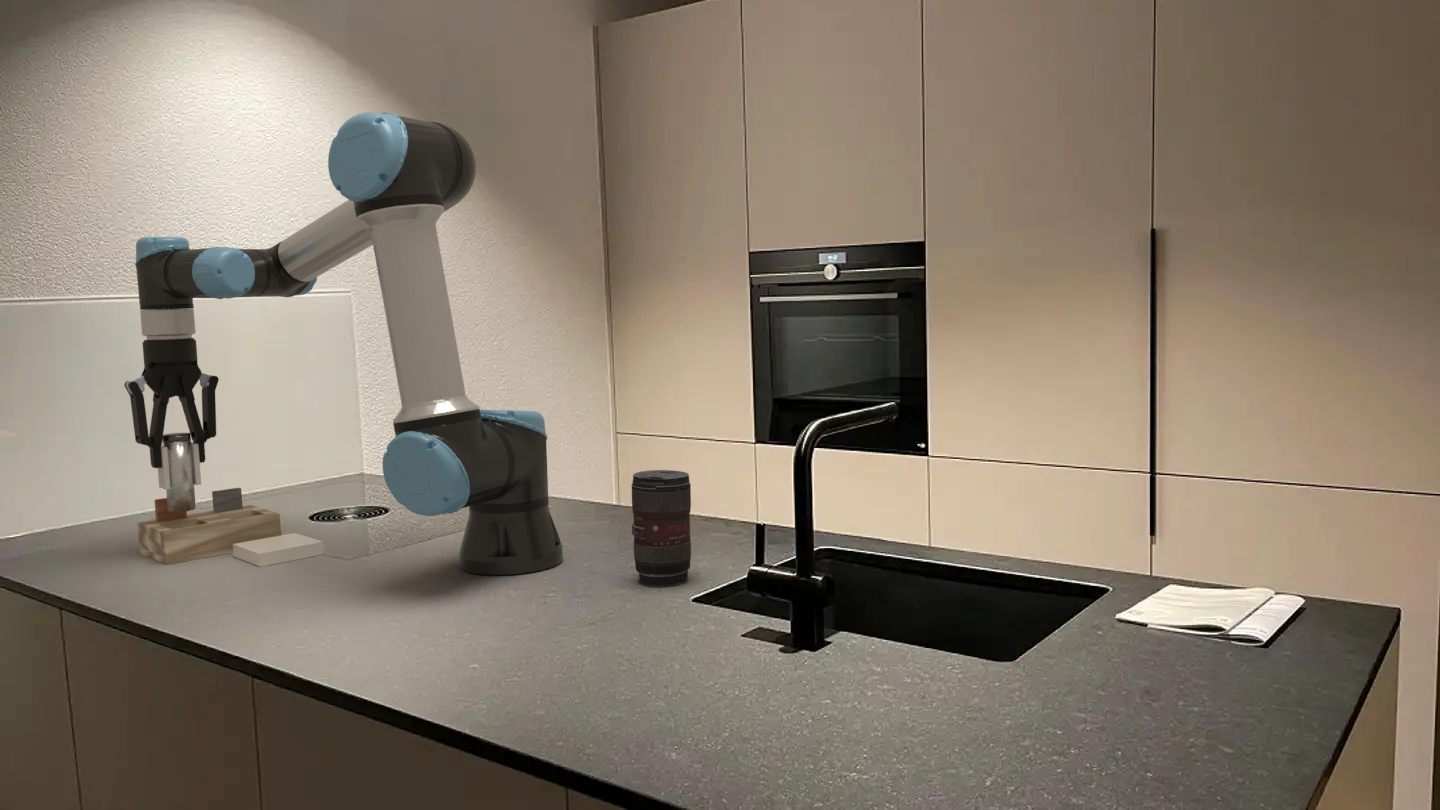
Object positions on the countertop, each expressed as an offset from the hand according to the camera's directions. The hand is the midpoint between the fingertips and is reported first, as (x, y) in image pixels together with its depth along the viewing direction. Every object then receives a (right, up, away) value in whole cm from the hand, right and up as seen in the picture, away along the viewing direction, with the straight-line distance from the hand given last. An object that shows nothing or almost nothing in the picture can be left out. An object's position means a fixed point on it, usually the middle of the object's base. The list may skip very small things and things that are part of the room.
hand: (180, 485), depth 177 cm
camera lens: (+77, -12, -22) cm, 81 cm away
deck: (+16, -11, -1) cm, 19 cm away
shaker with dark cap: (0, -4, +1) cm, 4 cm away
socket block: (+2, -11, +5) cm, 12 cm away
